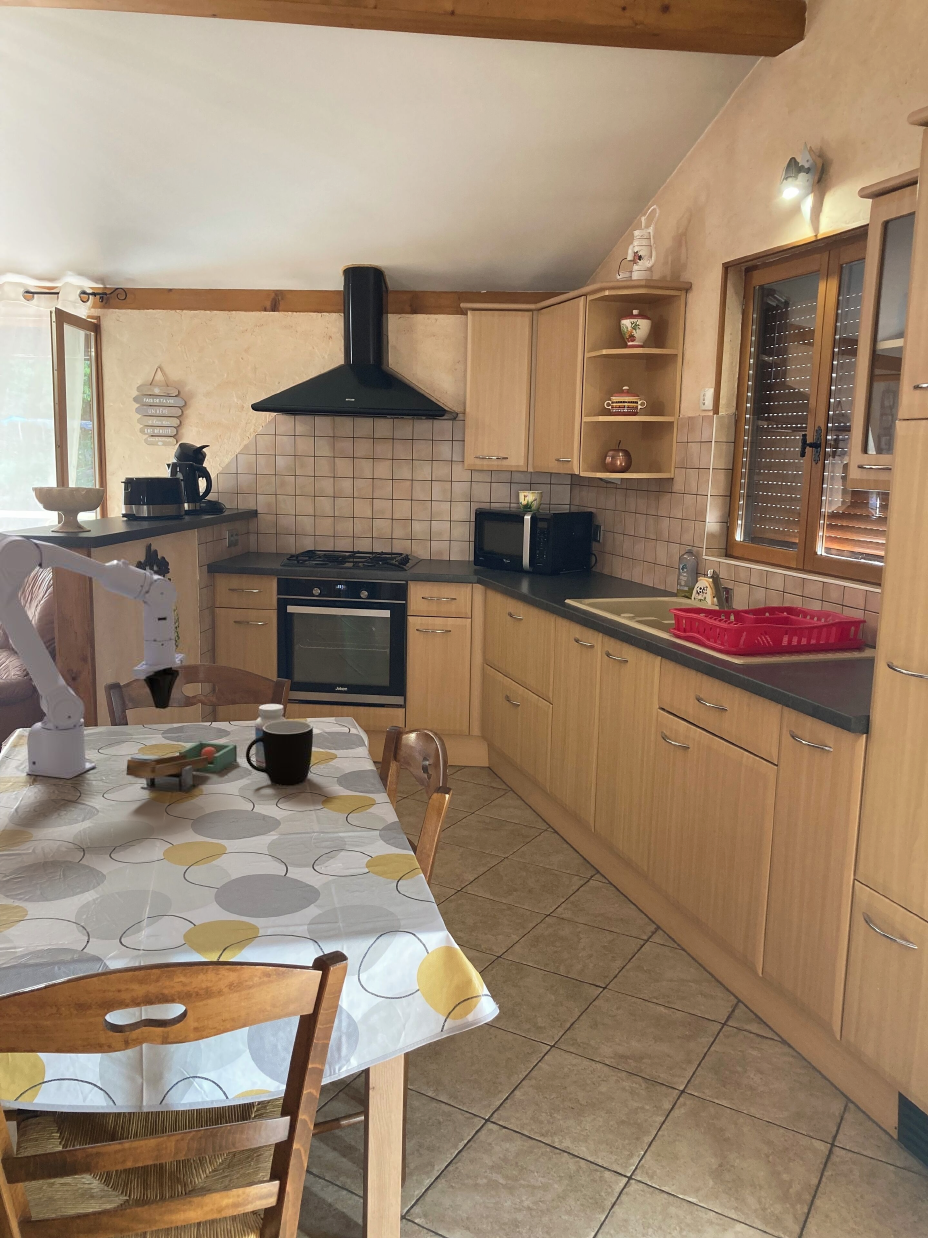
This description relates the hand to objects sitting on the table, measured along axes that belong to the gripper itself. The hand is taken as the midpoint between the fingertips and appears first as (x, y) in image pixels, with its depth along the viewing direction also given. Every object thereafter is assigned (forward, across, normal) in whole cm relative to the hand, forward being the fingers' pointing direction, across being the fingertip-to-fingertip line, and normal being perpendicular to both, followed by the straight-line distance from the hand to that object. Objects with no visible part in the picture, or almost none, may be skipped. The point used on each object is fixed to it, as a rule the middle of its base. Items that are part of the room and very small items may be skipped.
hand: (161, 707), depth 182 cm
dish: (+10, -1, -11) cm, 15 cm away
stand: (+10, -15, -11) cm, 21 cm away
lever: (+7, -15, -7) cm, 18 cm away
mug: (+10, -6, -28) cm, 30 cm away
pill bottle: (+10, +3, -22) cm, 24 cm away
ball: (+8, -1, -11) cm, 13 cm away
